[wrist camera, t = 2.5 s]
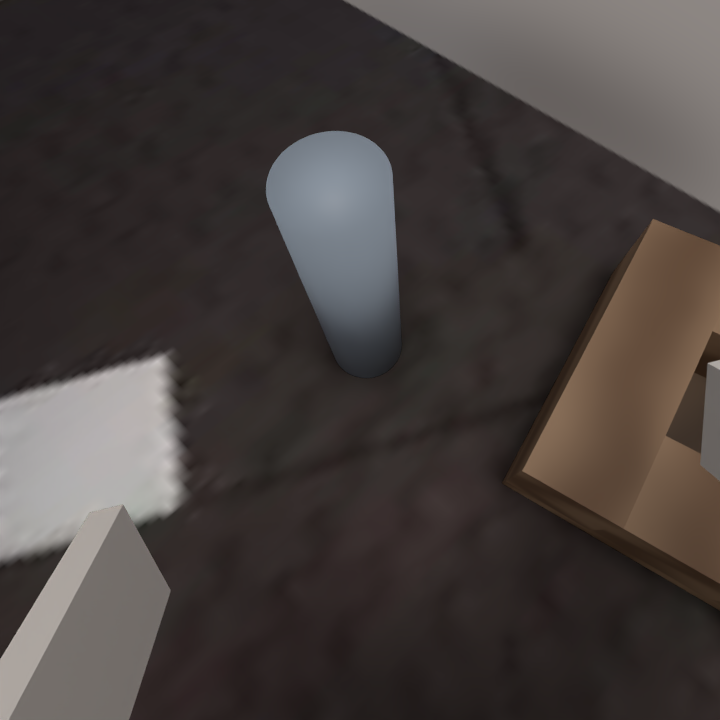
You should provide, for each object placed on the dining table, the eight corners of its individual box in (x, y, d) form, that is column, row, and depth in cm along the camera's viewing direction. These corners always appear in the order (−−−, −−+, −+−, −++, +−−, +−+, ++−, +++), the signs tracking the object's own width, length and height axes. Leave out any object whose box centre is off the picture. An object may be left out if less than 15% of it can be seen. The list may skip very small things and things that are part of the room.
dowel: (319, 356, 29) (241, 203, 15) (356, 302, 30) (311, 114, 16) (378, 390, 28) (347, 257, 14) (414, 333, 29) (416, 159, 15)
